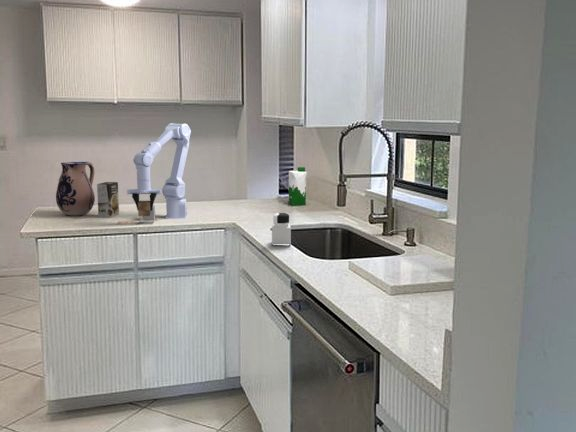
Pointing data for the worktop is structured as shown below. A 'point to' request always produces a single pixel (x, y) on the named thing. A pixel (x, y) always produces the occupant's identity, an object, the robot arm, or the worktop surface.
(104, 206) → the coffee box
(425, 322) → the worktop surface
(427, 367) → the worktop surface
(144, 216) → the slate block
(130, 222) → the code tile
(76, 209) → the ceramic pitcher
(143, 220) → the code tile
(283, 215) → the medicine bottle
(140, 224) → the rubber pad
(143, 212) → the walnut block
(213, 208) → the worktop surface
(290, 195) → the milk carton
